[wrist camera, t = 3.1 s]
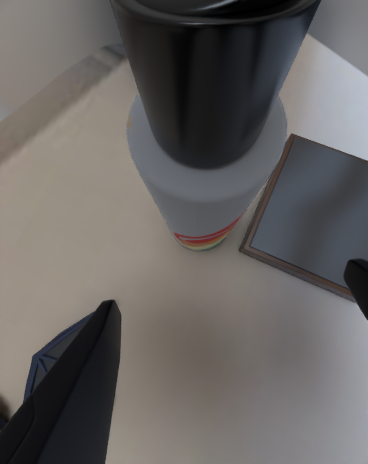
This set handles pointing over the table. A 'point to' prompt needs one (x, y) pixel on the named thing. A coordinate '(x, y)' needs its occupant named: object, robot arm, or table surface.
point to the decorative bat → (49, 358)
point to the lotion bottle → (208, 103)
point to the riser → (312, 215)
